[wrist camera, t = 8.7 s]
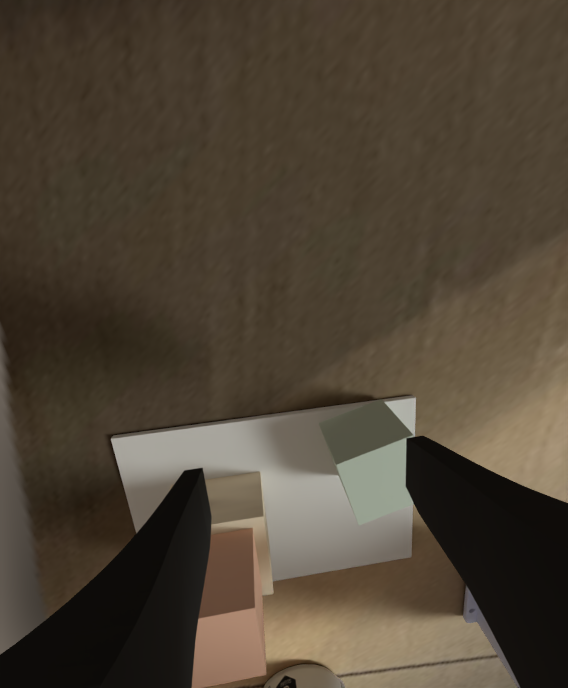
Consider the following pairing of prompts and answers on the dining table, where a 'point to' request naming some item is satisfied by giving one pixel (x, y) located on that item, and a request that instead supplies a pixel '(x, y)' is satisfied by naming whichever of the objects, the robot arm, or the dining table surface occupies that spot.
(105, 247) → the dining table surface
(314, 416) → the mat
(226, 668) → the terracotta block
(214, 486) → the birch base block
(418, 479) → the robot arm
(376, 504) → the sage block
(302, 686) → the supplement can
